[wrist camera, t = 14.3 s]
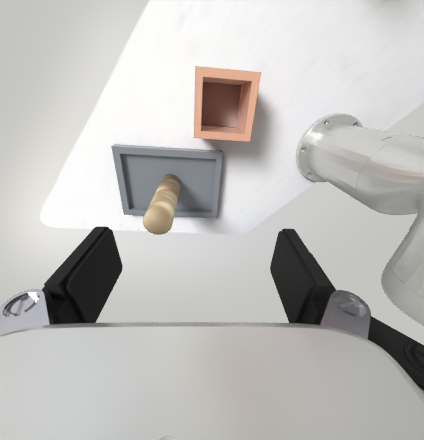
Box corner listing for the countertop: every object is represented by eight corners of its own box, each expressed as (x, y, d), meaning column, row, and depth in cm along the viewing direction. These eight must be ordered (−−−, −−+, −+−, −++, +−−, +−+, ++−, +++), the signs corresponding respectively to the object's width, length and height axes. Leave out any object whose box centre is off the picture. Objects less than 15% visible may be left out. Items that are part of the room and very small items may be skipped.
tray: (221, 151, 38) (222, 153, 37) (216, 213, 45) (216, 217, 44) (115, 144, 37) (111, 146, 35) (126, 210, 44) (124, 214, 42)
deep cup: (248, 78, 32) (260, 72, 26) (240, 134, 37) (249, 141, 30) (196, 73, 32) (195, 66, 25) (195, 130, 36) (193, 137, 29)
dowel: (180, 174, 40) (171, 211, 27) (181, 193, 42) (172, 234, 29) (160, 173, 39) (141, 209, 27) (161, 192, 41) (144, 234, 29)
